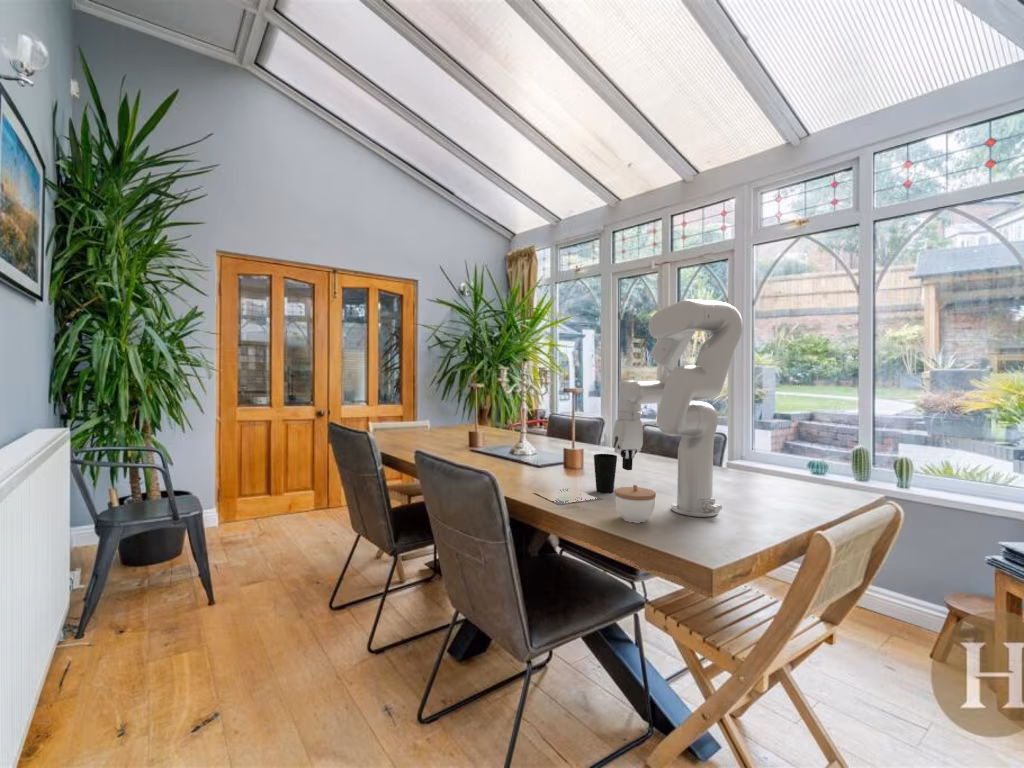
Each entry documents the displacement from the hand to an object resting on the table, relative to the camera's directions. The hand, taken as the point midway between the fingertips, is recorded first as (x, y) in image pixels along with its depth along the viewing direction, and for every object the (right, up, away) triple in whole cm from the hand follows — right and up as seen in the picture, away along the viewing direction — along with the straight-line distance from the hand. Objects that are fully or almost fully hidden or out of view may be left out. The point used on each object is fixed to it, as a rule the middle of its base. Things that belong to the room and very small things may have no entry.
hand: (627, 469), depth 172 cm
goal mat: (-22, -7, -12) cm, 26 cm away
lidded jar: (-6, -8, -36) cm, 38 cm away
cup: (-9, -7, -5) cm, 12 cm away
